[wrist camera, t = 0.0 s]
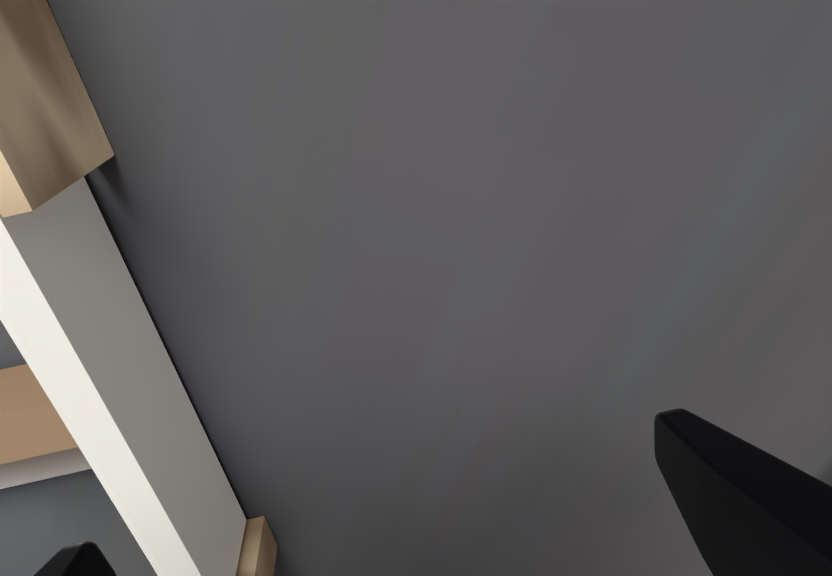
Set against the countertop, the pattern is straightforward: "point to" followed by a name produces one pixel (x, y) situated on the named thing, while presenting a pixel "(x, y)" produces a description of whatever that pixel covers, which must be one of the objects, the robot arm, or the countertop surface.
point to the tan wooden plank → (61, 187)
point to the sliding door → (107, 387)
